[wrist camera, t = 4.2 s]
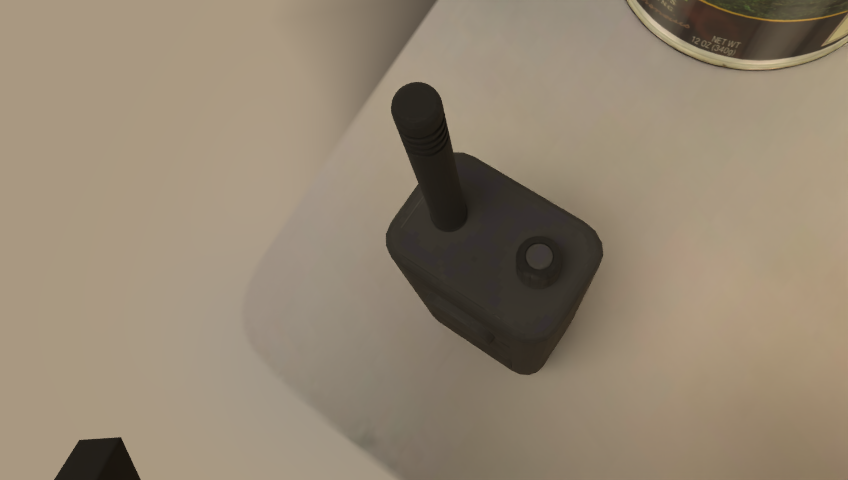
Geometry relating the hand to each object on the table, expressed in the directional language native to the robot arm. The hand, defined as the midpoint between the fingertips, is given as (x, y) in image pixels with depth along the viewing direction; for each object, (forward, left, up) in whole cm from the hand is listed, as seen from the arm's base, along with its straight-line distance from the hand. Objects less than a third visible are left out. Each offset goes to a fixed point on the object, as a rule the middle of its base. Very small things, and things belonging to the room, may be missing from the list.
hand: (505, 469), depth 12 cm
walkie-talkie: (-3, +4, -12) cm, 13 cm away
